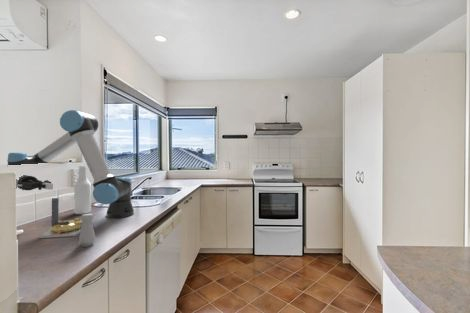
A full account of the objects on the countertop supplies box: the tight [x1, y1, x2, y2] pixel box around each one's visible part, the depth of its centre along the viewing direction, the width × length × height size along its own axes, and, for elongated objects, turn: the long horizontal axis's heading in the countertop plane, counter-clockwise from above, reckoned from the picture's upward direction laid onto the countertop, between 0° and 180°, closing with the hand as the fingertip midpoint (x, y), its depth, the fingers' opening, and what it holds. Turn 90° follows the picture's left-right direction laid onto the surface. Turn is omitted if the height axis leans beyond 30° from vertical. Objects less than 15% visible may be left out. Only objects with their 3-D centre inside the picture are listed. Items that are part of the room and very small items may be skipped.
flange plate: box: [39, 228, 81, 239], centre depth 110 cm, size 14×18×2 cm
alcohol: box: [73, 164, 92, 215], centre depth 142 cm, size 9×9×30 cm
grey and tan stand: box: [50, 197, 83, 232], centre depth 110 cm, size 13×13×15 cm
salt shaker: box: [78, 212, 96, 248], centre depth 94 cm, size 6×6×13 cm
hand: (51, 186), depth 108 cm, fingers closed
